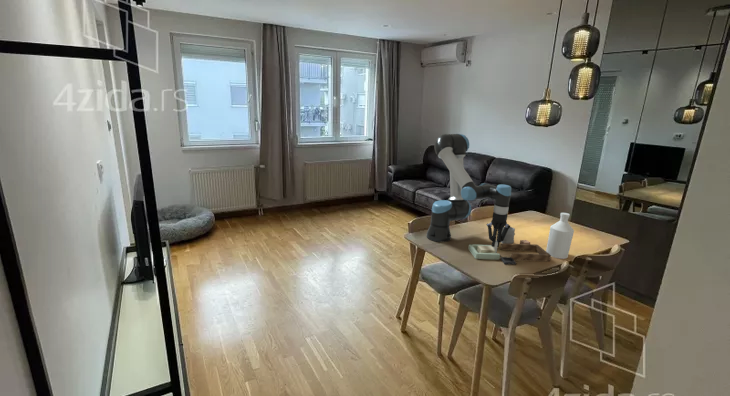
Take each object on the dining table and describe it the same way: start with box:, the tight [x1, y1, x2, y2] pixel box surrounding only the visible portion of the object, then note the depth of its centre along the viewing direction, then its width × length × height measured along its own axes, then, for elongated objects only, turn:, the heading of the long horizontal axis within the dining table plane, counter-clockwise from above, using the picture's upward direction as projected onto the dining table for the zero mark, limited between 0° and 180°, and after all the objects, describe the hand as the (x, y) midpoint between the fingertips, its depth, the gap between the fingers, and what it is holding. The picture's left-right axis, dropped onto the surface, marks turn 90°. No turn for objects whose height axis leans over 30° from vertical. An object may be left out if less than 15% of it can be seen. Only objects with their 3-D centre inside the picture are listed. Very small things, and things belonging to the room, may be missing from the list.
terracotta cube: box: [519, 239, 531, 244], centre depth 210 cm, size 4×4×4 cm
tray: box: [499, 256, 517, 265], centre depth 189 cm, size 6×6×1 cm
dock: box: [467, 243, 501, 260], centre depth 198 cm, size 13×13×3 cm
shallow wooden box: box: [500, 243, 552, 262], centre depth 199 cm, size 22×15×4 cm
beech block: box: [476, 246, 496, 253], centre depth 198 cm, size 8×6×4 cm
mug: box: [499, 226, 516, 244], centre depth 213 cm, size 8×12×12 cm, turn 117°
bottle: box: [545, 212, 575, 260], centre depth 199 cm, size 12×12×25 cm
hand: (494, 251), depth 198 cm, fingers closed
